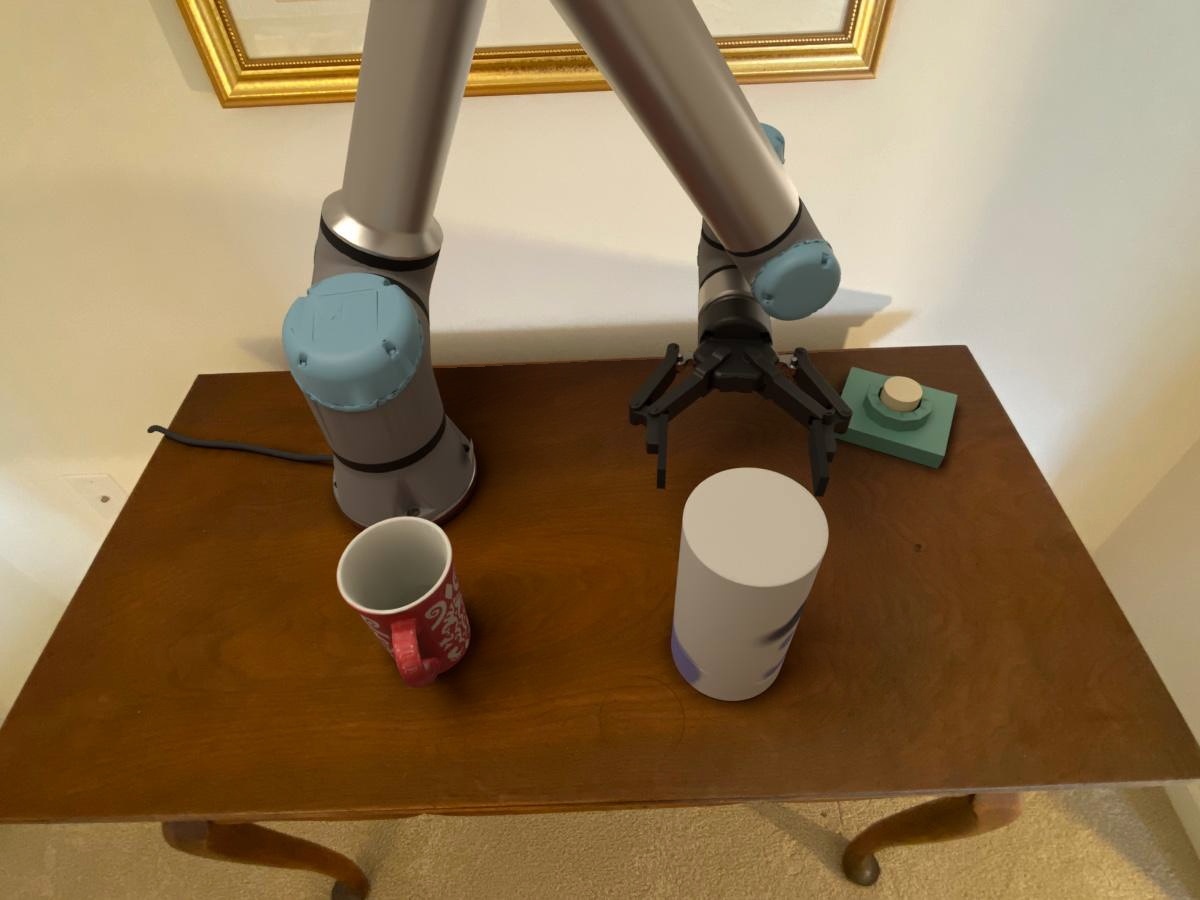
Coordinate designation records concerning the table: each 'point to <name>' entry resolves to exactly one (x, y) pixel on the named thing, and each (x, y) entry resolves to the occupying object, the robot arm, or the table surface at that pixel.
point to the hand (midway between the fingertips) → (740, 483)
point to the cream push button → (901, 394)
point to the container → (743, 579)
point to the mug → (407, 595)
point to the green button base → (897, 420)
